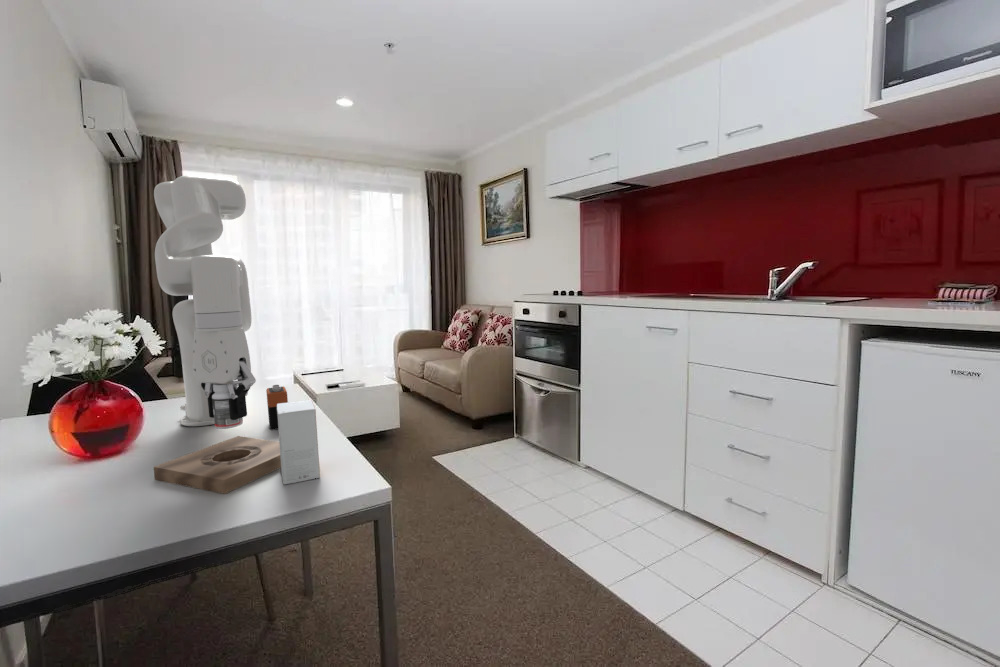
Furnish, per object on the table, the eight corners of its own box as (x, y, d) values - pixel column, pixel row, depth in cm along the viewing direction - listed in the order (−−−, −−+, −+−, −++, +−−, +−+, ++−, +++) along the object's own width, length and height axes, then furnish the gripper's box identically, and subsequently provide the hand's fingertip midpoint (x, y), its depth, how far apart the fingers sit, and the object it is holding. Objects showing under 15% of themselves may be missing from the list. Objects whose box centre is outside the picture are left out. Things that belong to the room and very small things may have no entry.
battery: (270, 430, 118) (267, 390, 117) (269, 423, 124) (265, 384, 123) (290, 427, 120) (286, 387, 119) (287, 420, 126) (284, 382, 125)
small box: (320, 478, 89) (315, 408, 87) (282, 485, 86) (277, 413, 85) (316, 463, 96) (311, 398, 95) (281, 469, 94) (275, 403, 92)
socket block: (154, 479, 90) (153, 466, 90) (239, 447, 107) (238, 436, 106) (225, 494, 83) (223, 480, 83) (303, 456, 100) (302, 445, 100)
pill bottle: (222, 422, 96) (218, 380, 95) (247, 421, 96) (243, 379, 95) (210, 430, 91) (205, 386, 90) (236, 428, 92) (232, 384, 91)
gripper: (168, 323, 91) (178, 418, 93) (234, 324, 85) (244, 426, 87) (206, 320, 98) (214, 408, 100) (269, 320, 92) (277, 415, 94)
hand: (228, 415), depth 94 cm, fingers closed on pill bottle, 4 cm apart
